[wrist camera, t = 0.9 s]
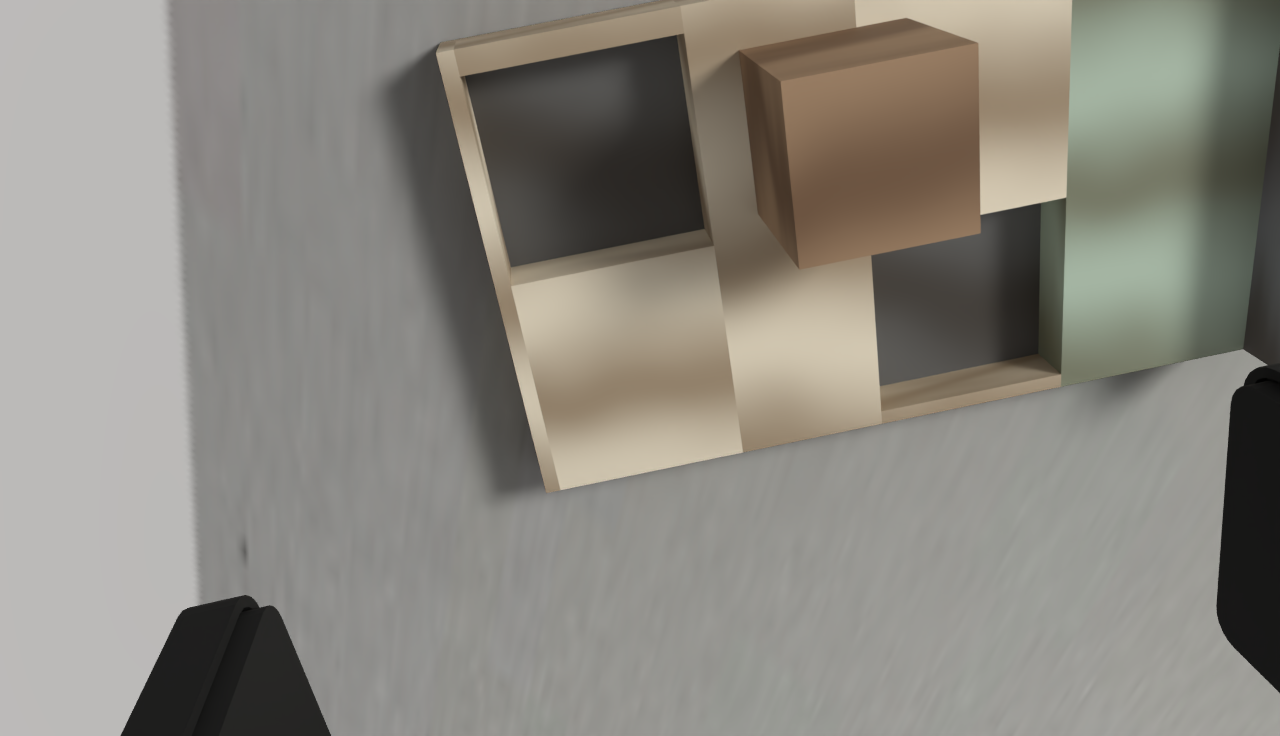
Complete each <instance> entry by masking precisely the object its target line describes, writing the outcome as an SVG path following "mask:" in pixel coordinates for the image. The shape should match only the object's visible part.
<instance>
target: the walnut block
mask: <svg viewBox="0 0 1280 736" xmlns="http://www.w3.org/2000/svg"><path fill="white" fill-rule="evenodd" d="M739 57H740V66H741V74H742V83H743V91H744V100H745V108H746V117H747V125H748V134H749V142H750V151H751V159H752V168H753V176H754V185H755V194H756V202H757V211H758V215H759V216H760V217H761V219H762V220H763V221H764V223H765V224H766V225H767V227H768V228H769V230H770V231H771V232H772V234H773V235H774V236H775V238H776V239H777V240H778V242H779V243H780V244H781V246H782V247H783V248H784V250H785V251H786V252H787V254H788V255H789V256H790V258H791V259H792V260H793V262H794V263H795V265H796V266H797V267H798V269H799V270H801V269H806V268H811V267H816V266H821V265H826V264H831V263H836V262H841V261H846V260H850V259H855V258H860V257H865V256H870V255H875V254H880V253H885V252H890V251H895V250H900V249H905V248H910V247H915V246H920V245H925V244H930V243H935V242H940V241H945V240H950V239H955V238H960V237H965V236H970V235H975V234H980V233H981V220H980V134H979V47H978V43H977V42H975V41H972V40H969V39H966V38H963V37H960V36H957V35H955V34H952V33H949V32H946V31H943V30H940V29H937V28H934V27H932V26H929V25H926V24H923V23H920V22H917V21H914V20H912V19H909V18H903V19H897V20H892V21H887V22H882V23H877V24H872V25H866V26H861V27H856V28H851V29H846V30H841V31H835V32H830V33H825V34H820V35H815V36H810V37H805V38H799V39H794V40H789V41H784V42H779V43H774V44H768V45H763V46H758V47H753V48H748V49H743V50H739Z"/></svg>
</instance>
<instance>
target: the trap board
mask: <svg viewBox="0 0 1280 736" xmlns="http://www.w3.org/2000/svg"><path fill="white" fill-rule="evenodd" d="M903 18H909V19H912V20H914V21H917V22H920V23H923V24H926V25H929V26H932V27H934V28H937V29H940V30H943V31H946V32H949V33H952V34H955V35H957V36H960V37H963V38H966V39H969V40H972V41H975V42H977V43H978V47H979V134H980V220H981V233H980V234H975V235H970V236H965V237H960V238H955V239H950V240H945V241H940V242H935V243H930V244H925V245H920V246H915V247H910V248H905V249H900V250H895V251H890V252H885V253H880V254H875V255H870V256H865V257H860V258H855V259H850V260H846V261H841V262H836V263H831V264H826V265H821V266H816V267H811V268H806V269H801V270H799V269H798V267H797V266H796V265H795V263H794V262H793V260H792V259H791V258H790V256H789V255H788V254H787V252H786V251H785V250H784V248H783V247H782V246H781V244H780V243H779V242H778V240H777V239H776V238H775V236H774V235H773V234H772V232H771V231H770V230H769V228H768V227H767V225H766V224H765V223H764V221H763V220H762V219H761V217H760V216H759V215H758V211H757V202H756V194H755V185H754V176H753V168H752V159H751V151H750V142H749V134H748V125H747V117H746V108H745V100H744V91H743V83H742V74H741V66H740V57H739V50H743V49H748V48H753V47H758V46H763V45H768V44H774V43H779V42H784V41H789V40H794V39H799V38H805V37H810V36H815V35H820V34H825V33H830V32H835V31H841V30H846V29H851V28H856V27H861V26H866V25H872V24H877V23H882V22H887V21H892V20H897V19H903ZM436 56H437V60H438V64H439V68H440V72H441V76H442V80H443V84H444V88H445V92H446V96H447V99H448V103H449V107H450V111H451V115H452V119H453V123H454V127H455V131H456V135H457V139H458V143H459V147H460V151H461V155H462V159H463V163H464V167H465V171H466V175H467V179H468V183H469V187H470V191H471V195H472V199H473V203H474V207H475V211H476V215H477V219H478V223H479V227H480V231H481V235H482V239H483V243H484V247H485V251H486V255H487V259H488V263H489V267H490V271H491V275H492V279H493V283H494V287H495V291H496V295H497V298H498V302H499V306H500V310H501V314H502V318H503V322H504V326H505V330H506V334H507V338H508V342H509V346H510V350H511V354H512V358H513V362H514V366H515V370H516V374H517V378H518V382H519V386H520V390H521V394H522V398H523V402H524V406H525V410H526V414H527V418H528V422H529V426H530V430H531V434H532V438H533V442H534V446H535V450H536V454H537V458H538V462H539V466H540V470H541V474H542V478H543V482H544V486H545V490H546V493H549V492H554V491H559V490H564V489H568V488H573V487H578V486H583V485H588V484H593V483H597V482H602V481H607V480H612V479H617V478H622V477H626V476H631V475H636V474H641V473H646V472H651V471H655V470H660V469H665V468H670V467H675V466H680V465H685V464H689V463H694V462H699V461H704V460H709V459H714V458H718V457H723V456H728V455H733V454H738V453H743V452H747V451H752V450H757V449H762V448H767V447H772V446H776V445H781V444H786V443H791V442H796V441H801V440H806V439H810V438H815V437H820V436H825V435H830V434H835V433H839V432H844V431H849V430H854V429H859V428H864V427H868V426H873V425H878V424H883V423H888V422H893V421H897V420H902V419H907V418H912V417H917V416H922V415H927V414H931V413H936V412H941V411H946V410H951V409H956V408H960V407H965V406H970V405H975V404H980V403H985V402H989V401H994V400H999V399H1004V398H1009V397H1014V396H1018V395H1023V394H1028V393H1033V392H1038V391H1043V390H1048V389H1052V388H1057V387H1062V386H1067V385H1072V384H1077V383H1081V382H1086V381H1091V380H1096V379H1101V378H1106V377H1110V376H1115V375H1120V374H1125V373H1130V372H1135V371H1139V370H1144V369H1149V368H1154V367H1159V366H1164V365H1169V364H1173V363H1178V362H1183V361H1188V360H1193V359H1198V358H1202V357H1207V356H1212V355H1217V354H1222V353H1227V352H1231V351H1236V350H1241V349H1244V350H1245V351H1247V352H1249V353H1250V354H1252V355H1253V356H1255V357H1256V358H1258V359H1259V360H1261V361H1263V362H1264V363H1266V364H1267V365H1272V364H1276V363H1280V0H660V1H655V2H649V3H644V4H639V5H634V6H629V7H623V8H618V9H613V10H608V11H602V12H597V13H592V14H587V15H582V16H576V17H571V18H566V19H561V20H556V21H550V22H545V23H540V24H535V25H529V26H524V27H519V28H514V29H509V30H503V31H498V32H493V33H488V34H483V35H477V36H472V37H467V38H462V39H457V40H451V41H446V42H441V43H440V44H439V47H438V49H437V51H436Z"/></svg>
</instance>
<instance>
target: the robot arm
mask: <svg viewBox="0 0 1280 736" xmlns="http://www.w3.org/2000/svg"><path fill="white" fill-rule="evenodd" d="M1217 616H1218V620H1219V624H1220V626H1221V628H1222V631H1223V633H1224V635H1225V636H1226V638H1227V640H1228V641H1229V642H1230V643H1231V645H1232V646H1233V647H1234V648H1235V649H1236V650H1237V651H1238V652H1239V653H1240V654H1241V655H1242V656H1243V657H1244V658H1245V659H1246V660H1247V661H1248V662H1249V663H1250V664H1251V665H1252V666H1253V667H1254V668H1255V669H1256V670H1257V671H1258V672H1259V673H1260V674H1261V675H1262V676H1263V677H1264V678H1265V679H1266V680H1267V681H1268V682H1269V683H1270V684H1271V685H1272V686H1273V687H1274V688H1275V689H1276V690H1277V691H1278V692H1279V693H1280V363H1276V364H1272V365H1267V366H1263V367H1258V368H1256V369H1254V370H1253V371H1251V372H1250V373H1249V375H1248V376H1247V378H1246V380H1245V383H1244V386H1242V387H1240V388H1239V389H1237V390H1236V391H1235V393H1234V394H1233V396H1232V401H1231V409H1230V423H1229V437H1228V451H1227V465H1226V479H1225V494H1224V508H1223V522H1222V536H1221V550H1220V564H1219V578H1218V592H1217ZM121 736H331V734H330V732H329V730H328V727H327V725H326V722H325V720H324V718H323V715H322V713H321V711H320V708H319V706H318V703H317V701H316V699H315V696H314V694H313V691H312V689H311V687H310V684H309V682H308V679H307V677H306V675H305V672H304V670H303V667H302V665H301V663H300V660H299V658H298V655H297V653H296V651H295V648H294V646H293V643H292V641H291V639H290V636H289V634H288V632H287V629H286V627H285V624H284V622H283V620H282V617H281V616H280V614H279V612H278V610H277V609H276V608H275V607H273V606H270V605H269V606H265V607H261V608H259V606H258V604H257V602H256V601H255V600H254V599H253V598H252V597H250V596H247V595H243V596H239V597H234V598H230V599H226V600H221V601H217V602H212V603H208V604H203V605H199V606H194V607H190V608H187V609H185V610H183V611H182V612H181V614H180V615H179V616H178V618H177V620H176V622H175V624H174V626H173V628H172V630H171V632H170V634H169V637H168V639H167V641H166V643H165V645H164V647H163V649H162V651H161V653H160V655H159V657H158V659H157V662H156V663H155V665H154V668H153V670H152V672H151V674H150V676H149V678H148V680H147V682H146V684H145V686H144V689H143V690H142V692H141V694H140V697H139V699H138V701H137V703H136V705H135V707H134V709H133V711H132V713H131V715H130V717H129V719H128V721H127V724H126V726H125V728H124V730H123V732H122V734H121Z"/></svg>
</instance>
